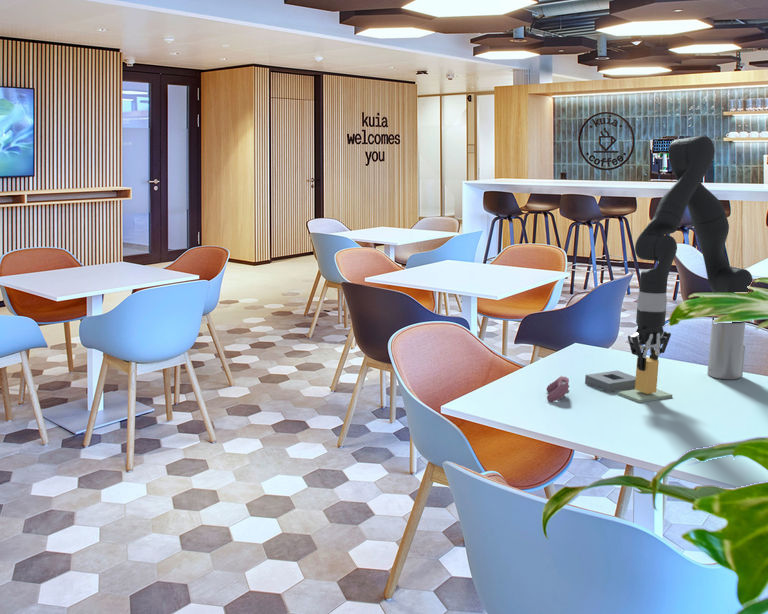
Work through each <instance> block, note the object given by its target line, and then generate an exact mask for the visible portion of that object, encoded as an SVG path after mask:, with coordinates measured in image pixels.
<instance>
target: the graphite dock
mask: <svg viewBox="0 0 768 614" xmlns="http://www.w3.org/2000/svg"><path fill="white" fill-rule="evenodd" d="M635 381H636V375H635V376H634V375H631V374H629V373H626V372H623V371H620V370H611V371H604V372H597V373H590V374H585V379H584V384H586V385H588V386H591V387H594V388H597V389H599V390H602V391H604V392H606V393H612V392H621V391H627V390H634V389H635Z"/></svg>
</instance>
